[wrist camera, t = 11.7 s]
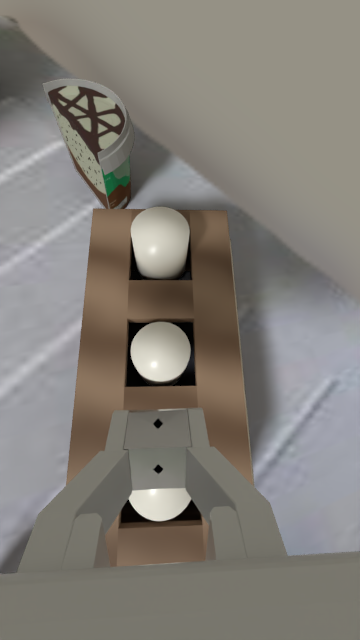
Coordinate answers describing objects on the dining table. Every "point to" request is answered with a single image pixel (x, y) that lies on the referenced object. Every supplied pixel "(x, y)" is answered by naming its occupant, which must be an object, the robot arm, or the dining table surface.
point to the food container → (95, 136)
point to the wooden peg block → (112, 394)
